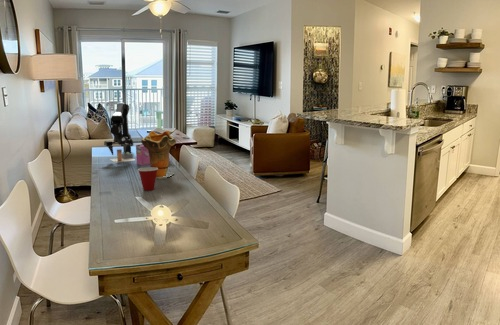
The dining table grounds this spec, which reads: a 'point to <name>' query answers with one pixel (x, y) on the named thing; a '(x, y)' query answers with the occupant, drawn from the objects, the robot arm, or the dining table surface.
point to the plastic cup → (148, 177)
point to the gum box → (142, 155)
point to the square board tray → (124, 158)
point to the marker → (119, 154)
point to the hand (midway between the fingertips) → (119, 154)
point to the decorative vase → (159, 151)
